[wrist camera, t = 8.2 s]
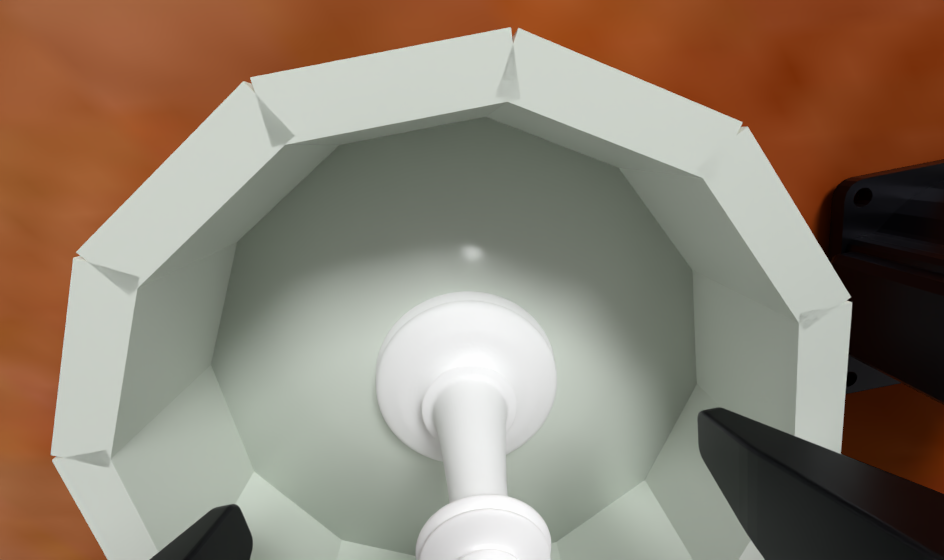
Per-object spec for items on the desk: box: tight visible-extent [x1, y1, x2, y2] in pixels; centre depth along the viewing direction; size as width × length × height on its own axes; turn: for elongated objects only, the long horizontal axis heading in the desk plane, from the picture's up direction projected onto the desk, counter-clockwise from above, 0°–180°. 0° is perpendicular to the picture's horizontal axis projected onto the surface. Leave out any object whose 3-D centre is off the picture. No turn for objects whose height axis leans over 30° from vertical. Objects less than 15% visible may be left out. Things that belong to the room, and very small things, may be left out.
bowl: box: [51, 27, 852, 560], centre depth 11 cm, size 15×15×4 cm
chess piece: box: [376, 291, 557, 560], centre depth 7 cm, size 5×5×10 cm
